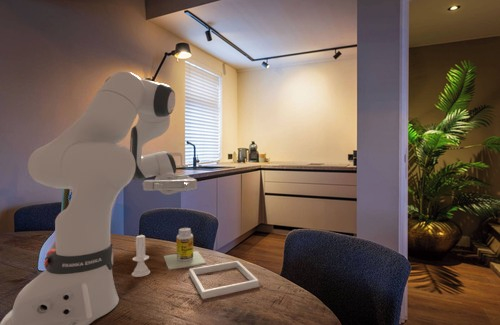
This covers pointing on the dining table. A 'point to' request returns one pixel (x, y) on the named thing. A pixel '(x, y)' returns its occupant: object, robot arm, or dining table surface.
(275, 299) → the dining table surface
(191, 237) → the supplement bottle
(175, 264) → the mat
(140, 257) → the candle
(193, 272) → the white square frame
